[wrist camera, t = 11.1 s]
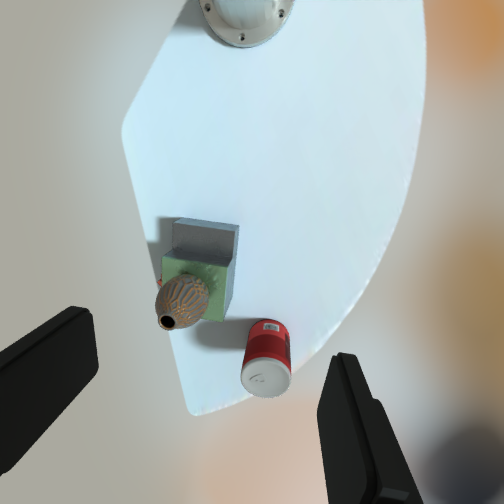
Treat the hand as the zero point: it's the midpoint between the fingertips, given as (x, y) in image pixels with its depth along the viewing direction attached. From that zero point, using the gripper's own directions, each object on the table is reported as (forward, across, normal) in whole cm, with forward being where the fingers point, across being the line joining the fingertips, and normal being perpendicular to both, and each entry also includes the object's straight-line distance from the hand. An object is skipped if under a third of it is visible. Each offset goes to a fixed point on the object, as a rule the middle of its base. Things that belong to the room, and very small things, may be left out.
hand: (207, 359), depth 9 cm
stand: (+33, +9, +10) cm, 36 cm away
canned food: (+34, -4, +24) cm, 41 cm away
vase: (+26, +9, +12) cm, 30 cm away
